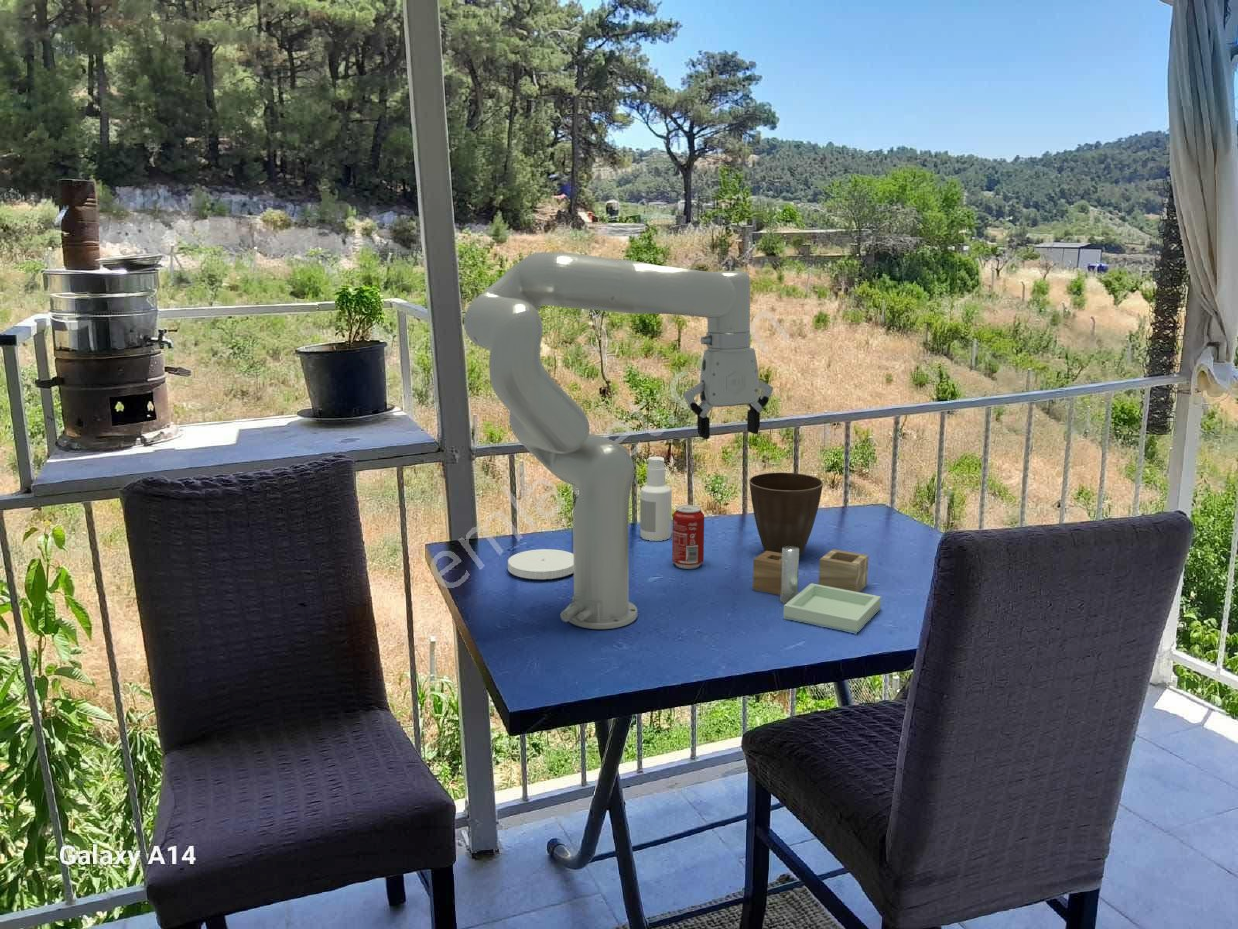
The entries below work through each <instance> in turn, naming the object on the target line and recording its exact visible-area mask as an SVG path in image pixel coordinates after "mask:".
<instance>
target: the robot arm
mask: <svg viewBox="0 0 1238 929" xmlns="http://www.w3.org/2000/svg"><path fill="white" fill-rule="evenodd" d="M543 306H549V307H550V306H552V307H556V308H557V307H560V308H568V309H577V310H578V309H581V310H591V311H602V312H613V313H624V314H634V315H635V314H636V315H637V314H638V315H642V314H643V315H647V314H648V315H649V314H651V315H652V314H653V315H656V314H657V315H659V314H661V315H673V316H674V315H677V316H685V317H686V316H687V317H688V316H689V317H697V318H707V321H706V324H707V325H706V326H707V331H706V335H705V336H700V344H701V345H706V347H707V349H704V351H703V356H702V362H701V366H700V367H701V368H700V377H699V378H700V379H699V380H700V381H699V383H697V384H696V385H694V386H693V387H691V388H689V389H687V391H685V392H684V393H683V394H682V396H683V398H684V400H685V402H686V404H687V407H688V409H690V410H691V411H692V412H693V413H694V414H695V416H697V418H696V420H697V423H696V424H697V433H698V435H699V437H700V438H702V439H704V440H709V439H710V435H711V433H710V431H711V429H710V425H711V424H710V422H711V420H710V417H709V416H708V414H709V413H710V412H711V410H712V409H713V408H714V407H715V408H722V407H723V408H724V407H733V406H734V407H735V406H745V405H747V406H748V408H749V409H747V416H746V417H747V422H746V423H747V426H746V428H747V432H748V433H751V434H753V435H758V434H759V429H760V426H761V423H760V422H761V421H760V420H761V413H762V412H763V409H764V407H765V406H766V405H767V404H768V402H769V401H770V400H769V399H770V398H771V395H772V394H773V392H774V387H773V386H772V385H770V384H768V383H766V382H764V381H761V379H760V377H759V375H760V374H759V369H758V360H757V355H756V350H755V348H754V347H751V279H750V275H749V274H748V273H747V272H746V271H741V270H721V271H720V270H719V271H714V272H713V271H707V270H698V269H689V268H681V267H673V266H665V265H664V266H663V265H660V264H659V265H658V264H653V263H648V262H644V261H643V262H641V261H637V260H636V261H634V260H630V259H619V258H610V257H601V256H594V255H589V254H588V255H586V254H580V253H579V254H578V253H572V252H571V253H570V252H560V251H559V252H556V251H555V252H552V251H551V252H549V251H548V252H545V251H544V252H543V251H541V252H540V251H539V252H533V253H531V254H529V255H528V256H525V257H524V258H522V259H521V260H520V261H518V262H517V263H515V265H514V266H512V267H511V268H509V270H507V271H506V272H505V273H504V274H502V276H500V277H499V278H497V280H496V281H494V282H493V283H492V284H491V285H489V287H487V288H486V289H485V290H483V291H482V292H481V293H480V294H479V295H477V296H476V297H475V298H474V299H473V301H472V302H471V303H470V304H469V305H468V307H467V309H466V310H465V311H466V312H465V314H464V318H463V319H464V321H463V324H464V325H463V326H464V327H463V328H464V330H465V333H466V336H467V337H468V338H469V340H470V341H471V342H472V343H473V344H475V345H476V346H477V347H480V348H482V349H485V350H490V352H489V359H488V360H489V364H488V365H489V368H488V370H489V380H490V384H491V387H492V389H493V391H494V393H495V395H496V397H497V398H498V399H499V400H500V402H501V403H502V404H503V405H504V406H505V408H506V409H507V410H509V419H508V420H509V425H510V428H511V431H512V434H513V435H514V436H515V438H516V439H517V440H518V442H520V444H522V446H523V447H524V448H525V449H526V450H527V451H528V452H530V453H531V455H532V456H534V457H535V458H536V460H538V461H539V462H540V463H541V464H542V465H543V466H544V467H545V468H546V469H547V470H548V471H549V472H551V474H552V475H554V476H555V477H556V478H557V479H558V480H561V481H562V482H564V483H566V484H569V485H571V486H574V487H576V488H577V489H578V495H577V499H576V501H575V503H574V504H575V505H574V508H573V513H572V544H573V545H572V546H573V548H572V551H573V552H572V553H573V560H574V573H573V596H572V597H571V603H570V604H569V605H567V606H566V608H565V609H563V610H562V611H561V612H560V613H559V616H560V619H561V620H562V621H563V622H564V623H565V622H566V623H567V622H569V623H570V624H573V625H575V626H577V627H580V628H583V629H592V630H609V629H617V628H621V627H624V626H627V625H630V624H632V623H633V622H634V621H635V620H636V619H637V618H638V607H637V606H636V605H635V604H634V603H633V602H631V601H629V600H630V599H629V587H630V586H629V581H630V580H629V577H630V575H629V572H630V571H629V568H630V567H629V558H630V557H629V556H630V555H629V552H630V551H629V548H630V547H629V546H630V545H629V544H630V543H629V542H630V541H629V540H630V539H629V538H630V536H629V510H630V509H629V508H630V498H631V491H632V487H633V482H634V474H635V467H634V465H635V464H634V461H633V459H632V456H631V455H630V453H629V452H628V450H627V449H626V448H625V447H624V446H623V445H621V444H620V443H619V442H617V441H614V440H612V439H610V438H606V437H604V436H600V435H596V434H592V433H590V430H591V429H590V423H589V419H588V417H587V415H586V414H585V412H584V411H583V408H581V406H579V404H578V403H577V402H576V401H574V400H573V399H572V398H571V397H570V396H569V395H568V393H567V392H566V391H564V389H563V388H562V387H560V385H559V384H558V383H557V382H556V381H555V380H554V378H552V376H551V375H550V374H549V372H548V371H547V370H546V369H545V367H544V366H543V363H542V359H541V344H542V338H543V331H544V330H543V328H544V326H543V321H542V318H541V316H540V313H539V312H538V311H539V310H540V309H541V308H542V307H543ZM760 390H761V391H762V392H761V395H760ZM698 395H699V396H700V398H699V399H700V403H699V404H697V402H696V400H695V398H696V396H698Z"/></svg>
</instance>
